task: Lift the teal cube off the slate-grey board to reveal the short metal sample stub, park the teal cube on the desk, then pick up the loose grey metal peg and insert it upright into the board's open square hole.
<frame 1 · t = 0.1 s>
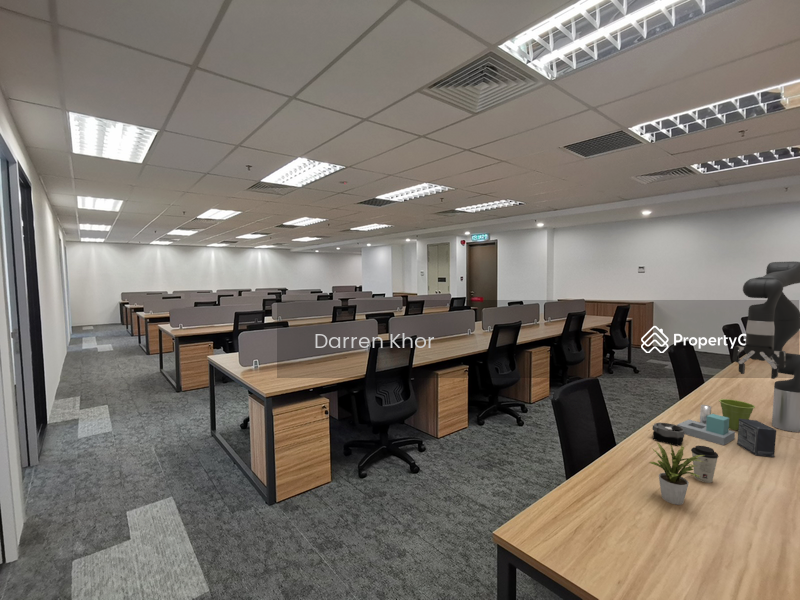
hand: (757, 376, 140), 29 cm above the table, fingers open, 8 cm apart
small box: (755, 451, 143), on the table
teal cube: (717, 431, 154), point 3 cm above the table, touching peg board
coffee cup: (703, 479, 122), on the table
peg: (704, 428, 165), on the table
cpu cooler: (668, 440, 152), on the table
house plant: (675, 502, 109), on the table
plant pot: (735, 428, 166), on the table
peg board: (704, 435, 158), on the table
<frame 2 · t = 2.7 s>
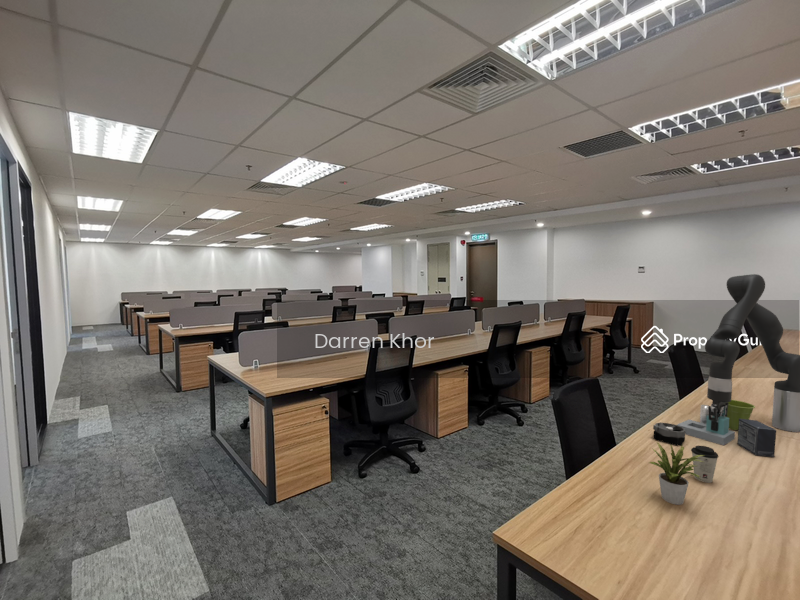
hand: (717, 428, 154), 4 cm above the table, fingers closed on teal cube, 5 cm apart
teal cube: (717, 431, 154), point 3 cm above the table, touching gripper, peg board
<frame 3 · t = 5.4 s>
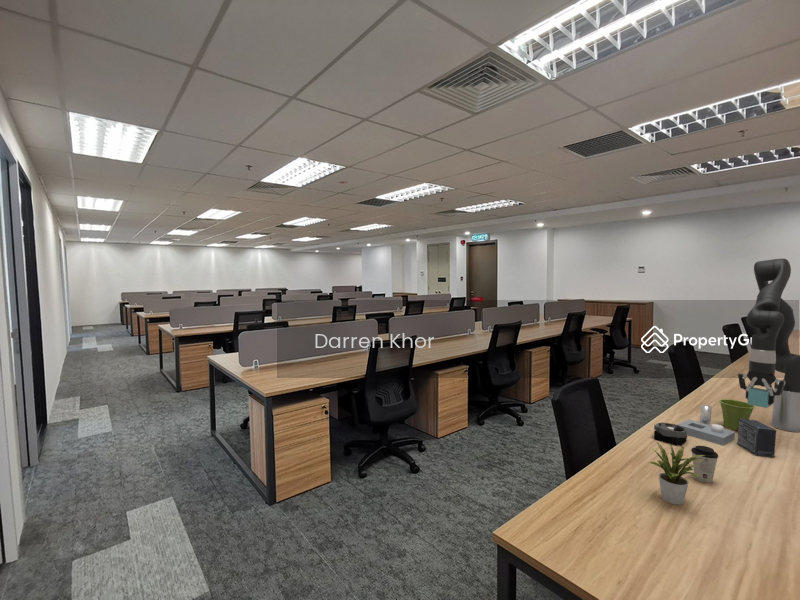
hand: (759, 402, 151), 16 cm above the table, fingers closed on teal cube, 5 cm apart
teal cube: (759, 404, 151), point 15 cm above the table, touching gripper
when the fingers open (2 cm above the table, at t = 7.9 s): teal cube stays where it is, on the table.
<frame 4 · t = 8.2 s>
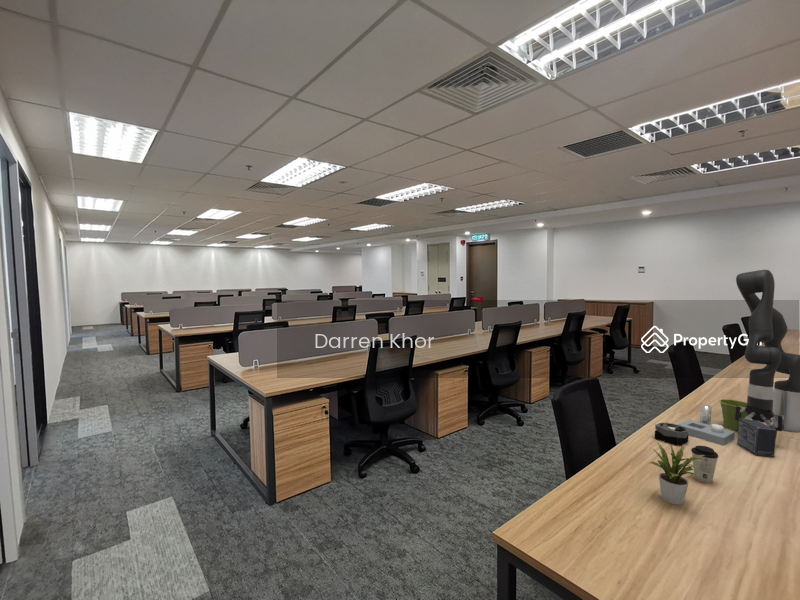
hand: (757, 435, 151), 3 cm above the table, fingers open, 8 cm apart
teal cube: (757, 442, 151), on the table
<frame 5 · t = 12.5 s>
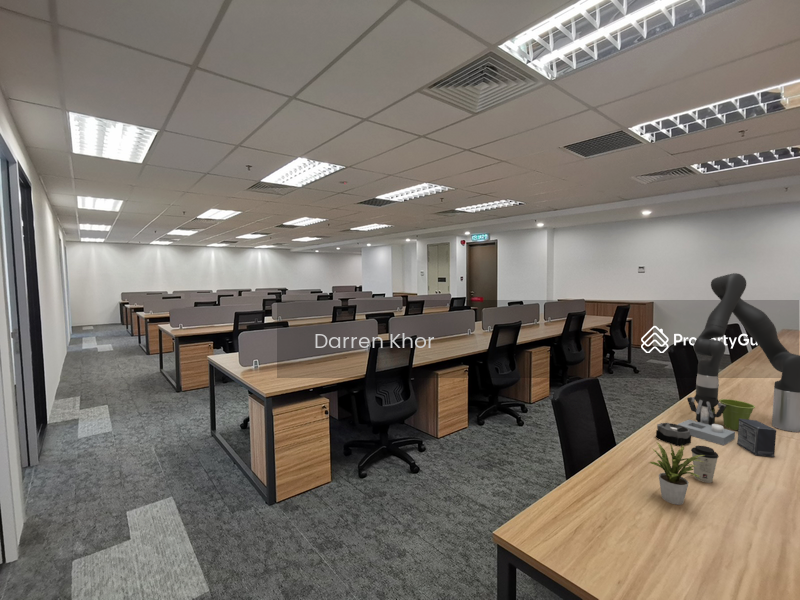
hand: (705, 423, 165), 2 cm above the table, fingers closed on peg, 3 cm apart
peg: (704, 428, 165), on the table, touching gripper
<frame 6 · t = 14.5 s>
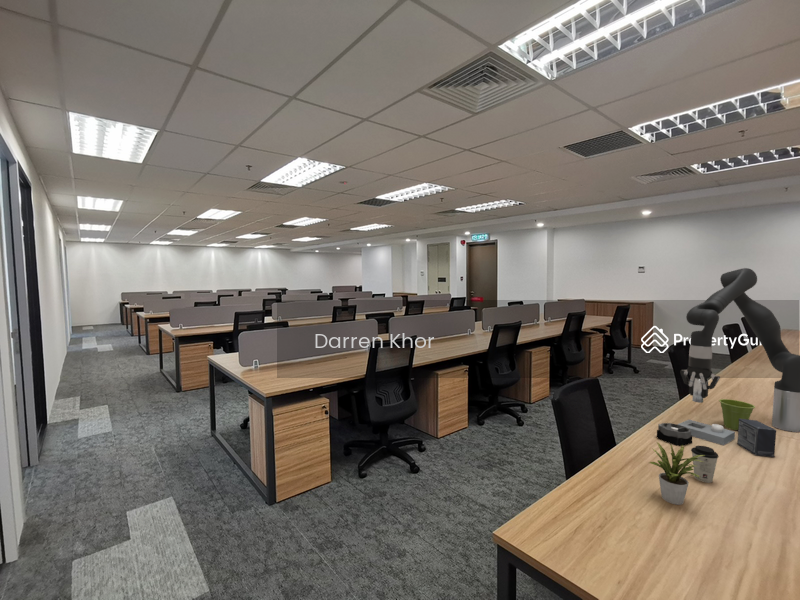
hand: (698, 396, 159), 16 cm above the table, fingers closed on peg, 3 cm apart
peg: (697, 401, 159), point 14 cm above the table, touching gripper
when the fingers open (4 cm above the table, at t = 16.9 s): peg drops 1 cm, resting in peg board.
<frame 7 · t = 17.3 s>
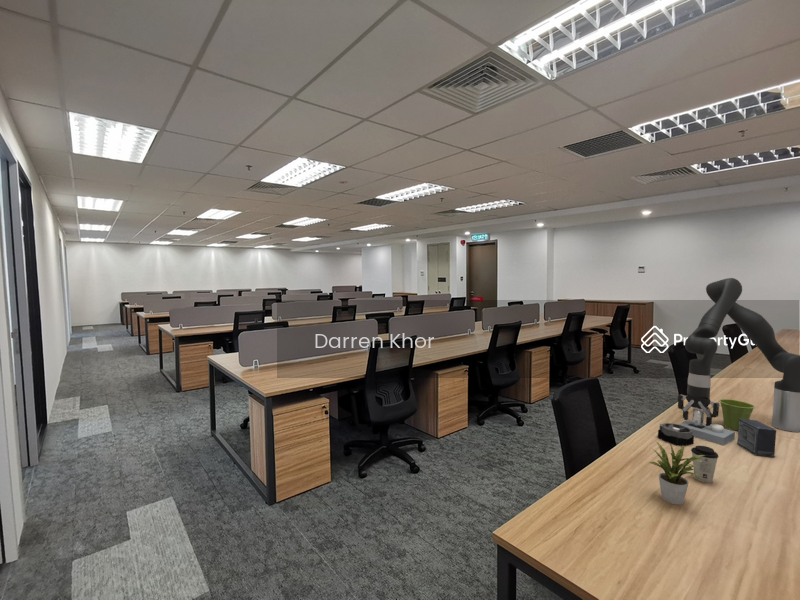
hand: (696, 422, 160), 4 cm above the table, fingers open, 7 cm apart
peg: (696, 432, 160), resting in peg board
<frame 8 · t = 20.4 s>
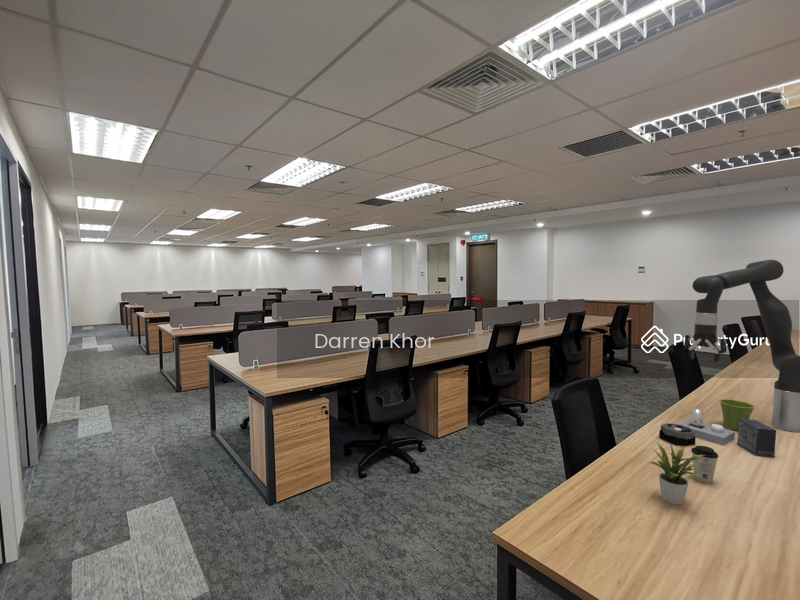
hand: (703, 360, 163), 30 cm above the table, fingers open, 8 cm apart
at the end: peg 0.0 cm from the target spot on the peg board, point 0.0 cm above the peg board's base; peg tilted 1°; teal cube moved 14.4 cm from its start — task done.
